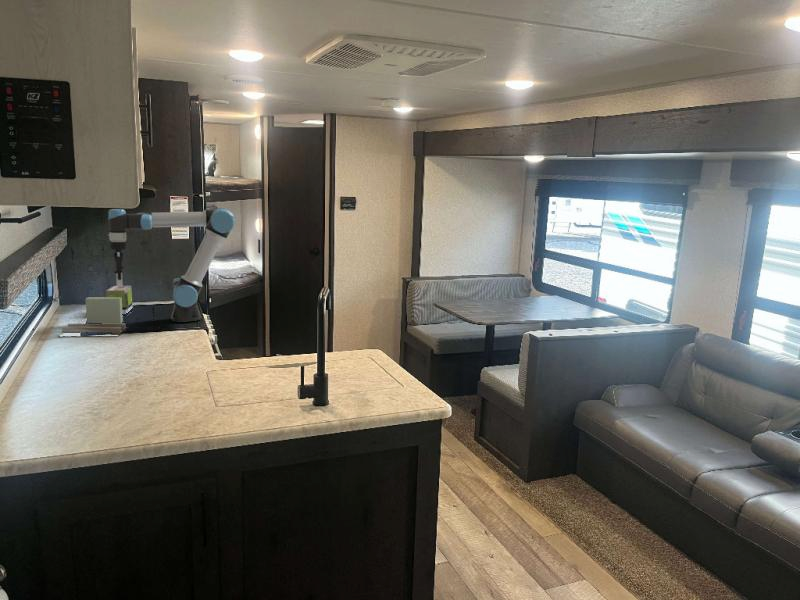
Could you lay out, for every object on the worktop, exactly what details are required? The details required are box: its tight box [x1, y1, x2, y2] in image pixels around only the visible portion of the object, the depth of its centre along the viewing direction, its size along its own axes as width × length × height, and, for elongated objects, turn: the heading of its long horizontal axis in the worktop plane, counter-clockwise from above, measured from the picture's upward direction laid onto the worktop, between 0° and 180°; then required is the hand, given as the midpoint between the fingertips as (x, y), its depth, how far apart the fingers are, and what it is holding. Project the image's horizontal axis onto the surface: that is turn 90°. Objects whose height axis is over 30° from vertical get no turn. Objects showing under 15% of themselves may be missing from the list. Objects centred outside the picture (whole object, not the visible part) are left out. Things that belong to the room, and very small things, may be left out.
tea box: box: [105, 285, 134, 314], centre depth 337 cm, size 15×10×15 cm, turn 10°
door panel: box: [85, 296, 124, 324], centre depth 310 cm, size 4×16×14 cm, turn 100°
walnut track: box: [61, 322, 127, 335], centre depth 294 cm, size 18×26×4 cm
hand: (119, 284), depth 301 cm, fingers open, 13 cm apart
